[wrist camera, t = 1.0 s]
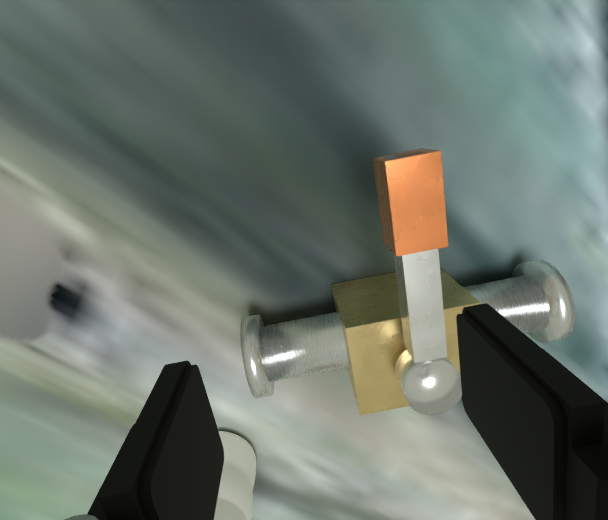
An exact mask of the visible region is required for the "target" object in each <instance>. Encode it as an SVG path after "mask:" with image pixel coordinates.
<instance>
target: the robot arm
mask: <svg viewBox="0 0 608 520" xmlns="http://www.w3.org/2000/svg"><path fill="white" fill-rule="evenodd" d="M456 323H457V336H458V349H459V363H460V376H461V389H462V401H463V406H464V409H465V411H466V413H467V415H468V417H469V418H470V420H471V421H472V423H473V424H474V426H475V428H476V429H477V431H478V432H479V434H480V435H481V437H482V438H483V440H484V441H485V443H486V444H487V446H488V447H489V449H490V451H491V452H492V454H493V455H494V457H495V458H496V460H497V461H498V463H499V464H500V466H501V467H502V469H503V470H504V472H505V474H506V475H507V477H508V478H509V480H510V481H511V483H512V484H513V486H514V487H515V489H516V490H517V492H518V493H519V495H520V496H521V498H522V500H523V501H524V503H525V504H526V506H527V507H528V509H529V510H530V512H531V513H532V515H533V516H534V518H535V519H536V520H608V403H607V402H606V401H605V400H604V399H603V398H601V397H600V396H599V395H598V394H597V393H595V392H594V391H593V390H592V389H591V388H589V387H588V386H587V385H586V384H585V383H583V382H582V381H581V380H580V379H579V378H577V377H576V376H575V375H574V374H573V373H571V372H570V371H569V370H568V369H567V368H565V367H564V366H563V365H562V364H561V363H559V362H558V361H557V360H556V359H555V358H553V357H552V356H551V355H550V354H549V353H547V352H546V351H545V350H544V349H542V348H540V347H539V346H538V345H537V344H536V343H534V342H533V341H532V340H531V339H530V338H528V337H527V336H526V335H525V334H524V333H522V332H521V331H520V330H519V329H518V328H516V327H515V326H514V325H513V324H512V323H511V322H509V321H508V320H507V319H506V318H505V317H503V316H502V315H501V314H500V313H499V312H497V311H496V310H495V309H494V308H493V307H491V306H490V305H489V304H487V303H483V304H478V305H473V306H468V307H464V308H463V310H462V313H461V314H458V315H457V317H456ZM223 464H224V449H223V444H222V441H221V438H220V435H219V432H218V428H217V425H216V422H215V419H214V416H213V412H212V409H211V406H210V403H209V400H208V396H207V393H206V390H205V387H204V384H203V380H202V377H201V374H200V371H199V368H198V366H197V365H191V364H190V362H189V361H183V362H178V363H172V364H167V365H165V366H164V368H163V370H162V372H161V374H160V376H159V378H158V380H157V382H156V384H155V386H154V387H153V389H152V391H151V393H150V395H149V397H148V399H147V401H146V403H145V405H144V407H143V409H142V411H141V413H140V415H139V417H138V419H137V421H136V423H135V424H134V425H133V426H132V428H131V429H130V431H129V433H128V435H127V437H126V439H125V441H124V443H123V445H122V447H121V449H120V451H119V453H118V455H117V457H116V459H115V461H114V463H113V465H112V467H111V469H110V471H109V473H108V475H107V476H106V478H105V480H104V482H103V484H102V486H101V488H100V490H99V492H98V494H97V496H96V498H95V500H94V502H93V504H92V506H91V508H90V510H89V512H88V514H87V515H86V514H84V515H78V516H73V517H70V518H68V519H65V520H214V515H215V509H216V504H217V498H218V492H219V487H220V481H221V475H222V470H223Z"/></svg>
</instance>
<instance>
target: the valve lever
mask: <svg viewBox="0 0 608 520" xmlns="http://www.w3.org/2000/svg"><path fill="white" fill-rule="evenodd" d="M373 163H374V171H375V179H376V187H377V194H378V202H379V210H380V217H381V225H382V233H383V241H384V243H385V245H386V246H387V247H388V248H389V249H390V250H391V251H392V252H393V255H394V263H395V271H396V279H397V288H398V296H399V304H400V312H401V320H402V328H403V337H404V345H405V348H406V349H407V350H405V351H404V352H403V353H402V354H401V355H400V357H399V358H398V360H397V362H396V366H395V375H396V378H397V380H398V382H399V384H400V387H401V389H402V391H403V393H404V395H405V397H406V400H407V402H408V403H409V405H410V406H411V407H412V408H413V409H414V410H415V411H417V412H419V413H422V414H427V415H435V414H440V413H443V412H446V411H448V410H449V409H451V408H452V407H454V406H455V405H456V404H457V403H458V401H459V400H460V399H461V397H462V389H461V376H460V373H459V372H458V370H457V369H456V367H455V366H454V365H453V363H452V362H451V361H450V359H449V358H448V357H447V345H446V333H445V322H444V310H443V298H442V286H441V275H440V263H439V251H438V248H443V247H448V237H447V224H446V210H445V197H444V184H443V171H442V158H441V151H438V150H430V149H417V150H412V151H407V152H401V153H396V154H391V155H386V156H381V157H376V158H373Z"/></svg>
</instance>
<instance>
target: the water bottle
mask: <svg viewBox="0 0 608 520" xmlns="http://www.w3.org/2000/svg"><path fill="white" fill-rule="evenodd" d="M218 432H219V435H220V438H221V441H222V444H223V449H224V464H223V470H222V475H221V481H220V487H219V492H218V498H217V504H216V509H215V515H214V520H251V519H252V511H253V493H252V491H253V487H254V482H255V475H256V456H255V453H254V450H253V449H252V447H251V445H250V444H249V443H248V442H247V441H246V440H245V439H243V438H242V437H240V436H238V435H236V434H234V433H230V432H225V431H218Z"/></svg>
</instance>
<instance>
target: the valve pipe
mask: <svg viewBox="0 0 608 520" xmlns="http://www.w3.org/2000/svg"><path fill="white" fill-rule="evenodd" d="M440 275H441V286H442V298H443V310H444V322H445V333H446V345H447V357H448V358H449V359H450V361H451V362H452V363H453V365H454V366H455V367H456V369H457V370H458V372H459V373H460V363H459V349H458V336H457V323H456V317H457V315H458V314H461V313H462V310H463V308H464V307H468V306H473V305H478V304H483V303H487V304H489V305H490V306H491V307H493V308H494V309H495V310H496V311H497V312H499V313H500V314H501V315H502V316H503V317H505V318H506V319H507V320H508V321H509V322H511V323H512V324H513V325H514V326H515V327H516V328H518V329H519V330H520V331H521V332H522V333H528V334H529V335H530V336H531V337H532V338H534V339H535V340H537V341H539V342H542V343H548V342H553V341H558V340H563V339H566V338H567V337H568V336H569V335H570V334H571V332H572V331H573V328H574V324H575V307H574V302H573V298H572V295H571V292H570V289H569V287H568V285H567V283H566V281H565V279H564V278H563V276H562V275H561V274H560V272H559V271H558V270H557V269H556V268H555V267H554V266H553V265H551V264H550V263H548V262H546V261H543V260H536V261H530V262H525V263H521V264H519V265H517V266H516V267H515V269H514V270H513V273H512V276H511V278H509V279H504V280H499V281H493V282H488V283H483V284H478V285H473V286H468V287H462V286H461V285H460V284H459V283H457V282H456V281H455V280H454V279H453V278H452V277H450V276H449V275H448V274H447V273H446V272H445V271H443V270H442V269H441V268H440ZM331 286H332V292H333V298H334V303H335V309H336V312H333V313H328V314H323V315H318V316H313V317H307V318H302V319H297V320H292V321H287V322H282V323H276V324H271V325H266V326H264V323H263V320H262V318H261V316H260V315H259V314H257V315H252V316H247V317H243V318H242V321H241V348H242V356H243V362H244V368H245V373H246V377H247V381H248V384H249V387H250V390H251V393H252V395H253V396H254V397H255V398H261V397H267V396H272V395H273V391H274V381H279V380H284V379H289V378H294V377H299V376H305V375H310V374H315V373H320V372H325V371H331V370H336V369H341V368H346V367H347V369H348V372H349V376H350V380H351V383H352V387H353V391H354V394H355V398H356V401H357V405H358V409H359V412H360V415H364V414H369V413H375V412H380V411H385V410H390V409H396V408H401V407H406V406H410V405H409V403H408V402H407V400H406V397H405V395H404V393H403V391H402V389H401V387H400V384H399V382H398V380H397V378H396V375H395V366H396V362H397V360H398V358H399V357H400V355H401V354H402V353H403V352H404V351H405V350H407V349H406V348H405V345H404V337H403V328H402V320H401V312H400V304H399V296H398V288H397V279H396V272H392V273H386V274H381V275H376V276H371V277H366V278H361V279H355V280H350V281H345V282H340V283H335V284H331Z"/></svg>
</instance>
